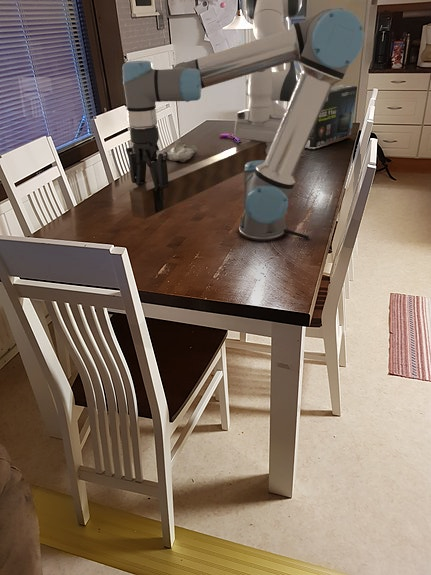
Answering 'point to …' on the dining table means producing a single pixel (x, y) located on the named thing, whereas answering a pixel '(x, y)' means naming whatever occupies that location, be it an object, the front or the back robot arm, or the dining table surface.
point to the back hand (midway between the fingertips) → (259, 152)
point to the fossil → (181, 152)
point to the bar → (196, 178)
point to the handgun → (230, 137)
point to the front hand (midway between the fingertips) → (152, 208)
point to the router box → (335, 116)
